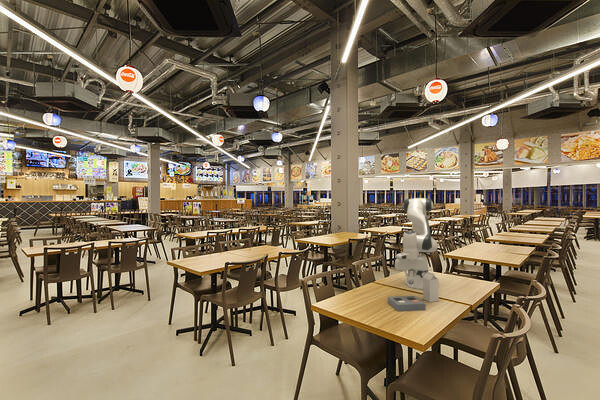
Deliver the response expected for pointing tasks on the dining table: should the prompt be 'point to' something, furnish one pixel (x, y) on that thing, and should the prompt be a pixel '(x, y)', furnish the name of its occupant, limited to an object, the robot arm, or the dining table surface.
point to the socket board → (406, 303)
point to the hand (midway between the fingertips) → (410, 276)
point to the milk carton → (430, 287)
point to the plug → (411, 276)
